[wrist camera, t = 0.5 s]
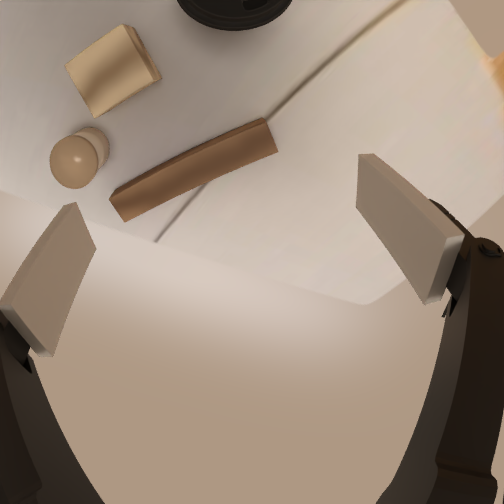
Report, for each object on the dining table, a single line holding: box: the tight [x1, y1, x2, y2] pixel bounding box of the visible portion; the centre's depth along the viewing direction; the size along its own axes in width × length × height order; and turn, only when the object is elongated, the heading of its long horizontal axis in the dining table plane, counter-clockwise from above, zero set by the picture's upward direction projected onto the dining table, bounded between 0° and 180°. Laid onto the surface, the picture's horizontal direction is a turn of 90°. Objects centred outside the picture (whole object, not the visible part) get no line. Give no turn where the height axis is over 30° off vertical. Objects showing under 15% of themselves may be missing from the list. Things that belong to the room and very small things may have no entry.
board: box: [109, 118, 278, 222], centre depth 36 cm, size 4×22×3 cm, turn 112°
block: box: [64, 24, 162, 118], centre depth 27 cm, size 8×8×5 cm
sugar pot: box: [50, 128, 110, 189], centre depth 32 cm, size 7×7×6 cm
